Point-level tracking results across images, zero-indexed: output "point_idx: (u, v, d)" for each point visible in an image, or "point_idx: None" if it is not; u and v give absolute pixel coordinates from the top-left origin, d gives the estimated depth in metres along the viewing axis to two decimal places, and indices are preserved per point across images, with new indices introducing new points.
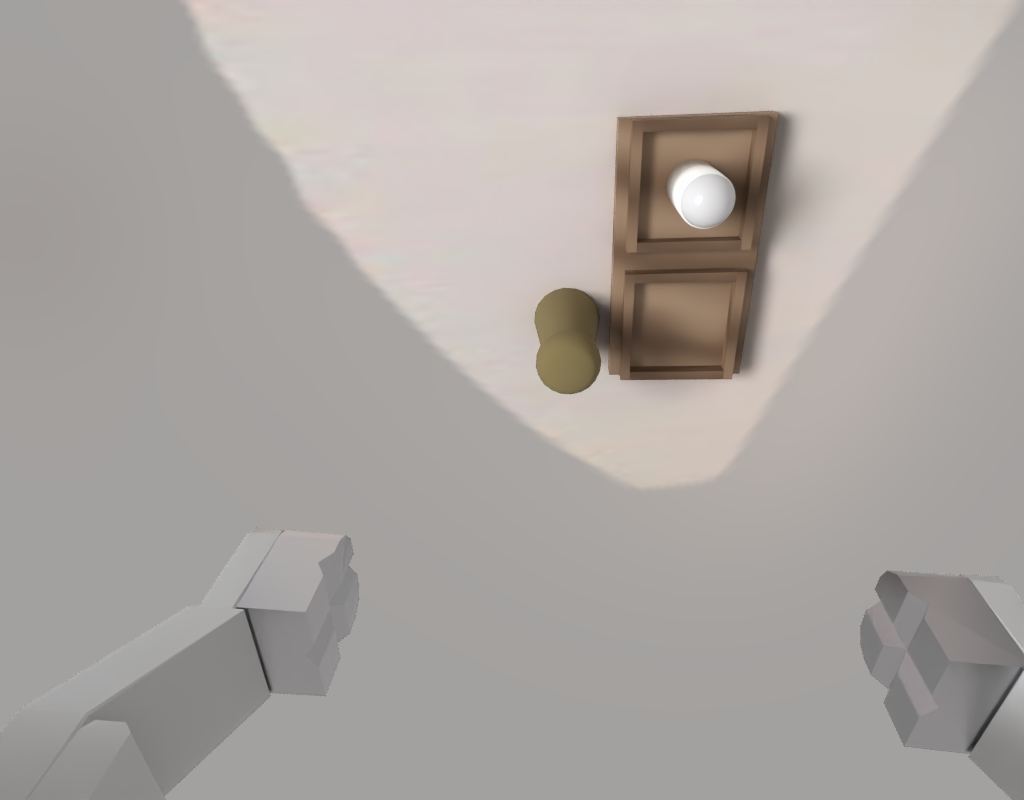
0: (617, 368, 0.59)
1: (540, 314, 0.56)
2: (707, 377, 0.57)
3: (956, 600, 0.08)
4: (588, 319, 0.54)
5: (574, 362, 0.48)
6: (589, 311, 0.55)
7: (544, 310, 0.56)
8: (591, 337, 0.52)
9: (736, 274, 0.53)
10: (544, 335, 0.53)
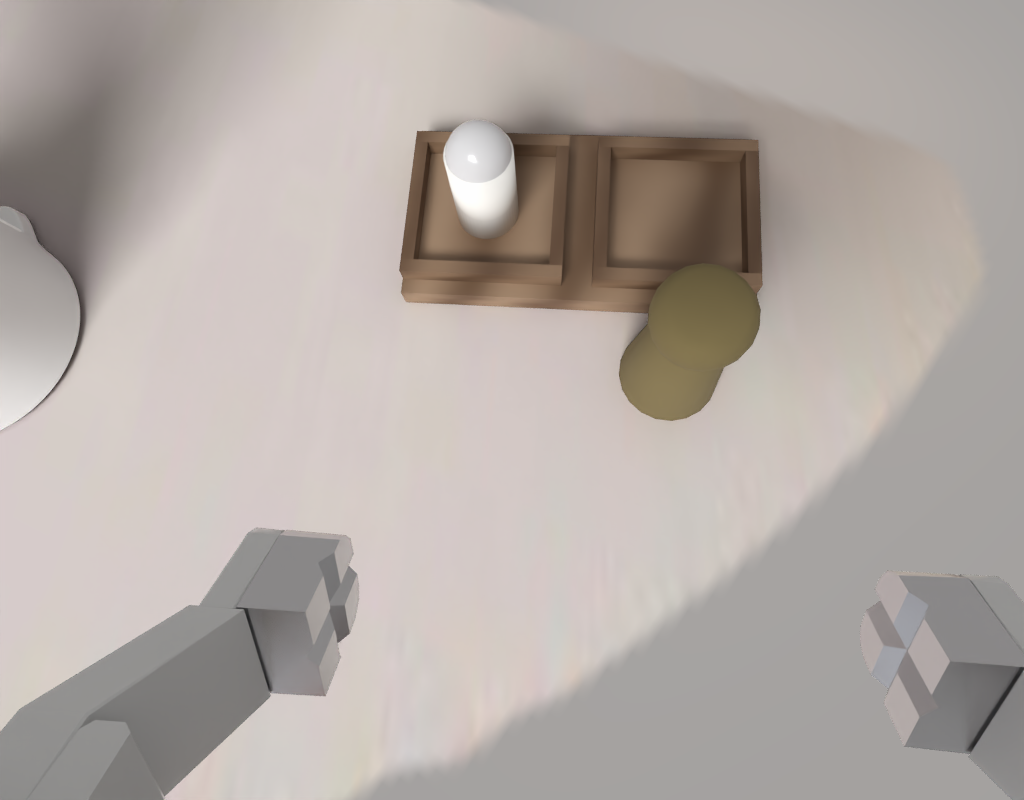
0: None
1: (650, 400, 0.37)
2: (756, 170, 0.39)
3: (956, 600, 0.08)
4: None
5: (693, 293, 0.29)
6: None
7: (643, 393, 0.37)
8: None
9: (602, 147, 0.41)
10: (669, 374, 0.33)
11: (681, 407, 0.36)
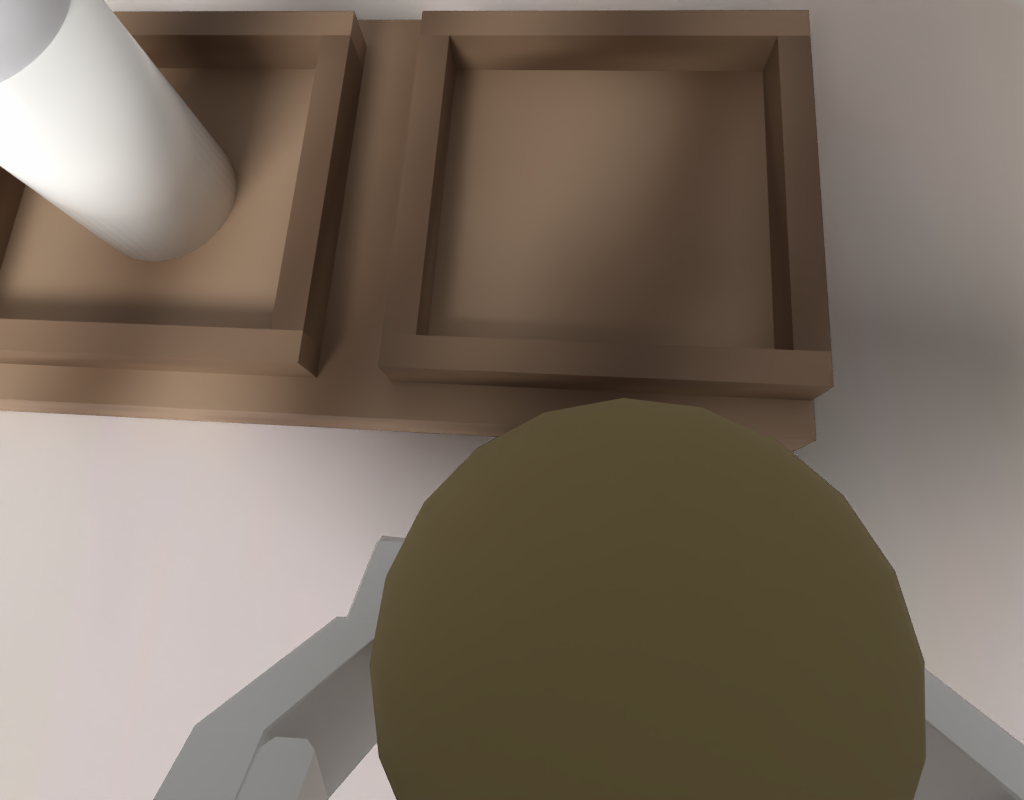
0: (785, 410, 0.15)
1: None
2: (806, 81, 0.16)
3: None
4: None
5: (548, 610, 0.05)
6: None
7: None
8: None
9: (430, 38, 0.17)
10: None
11: None
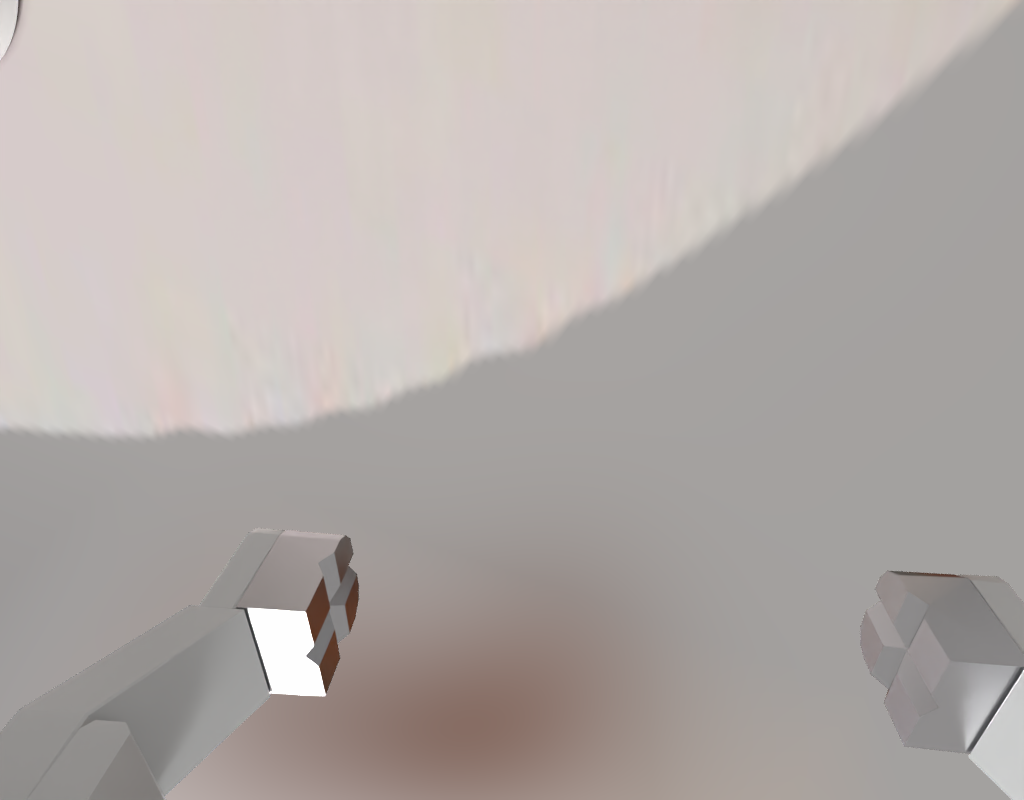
0: None
1: None
2: None
3: (956, 600, 0.08)
4: None
5: None
6: None
7: None
8: None
9: None
10: None
11: None
